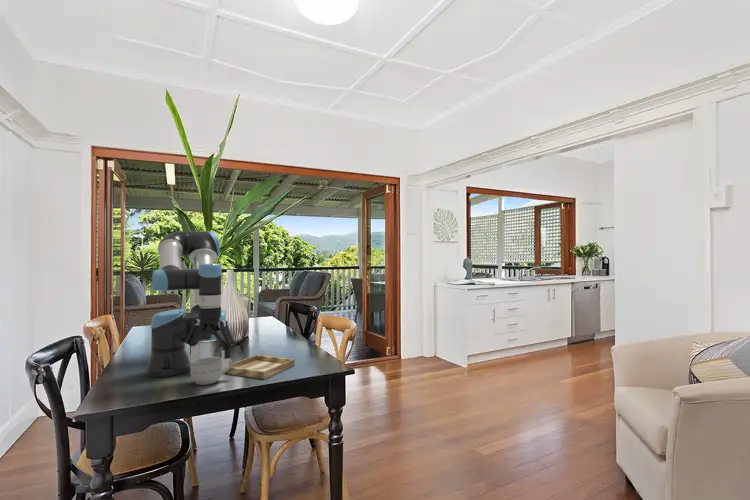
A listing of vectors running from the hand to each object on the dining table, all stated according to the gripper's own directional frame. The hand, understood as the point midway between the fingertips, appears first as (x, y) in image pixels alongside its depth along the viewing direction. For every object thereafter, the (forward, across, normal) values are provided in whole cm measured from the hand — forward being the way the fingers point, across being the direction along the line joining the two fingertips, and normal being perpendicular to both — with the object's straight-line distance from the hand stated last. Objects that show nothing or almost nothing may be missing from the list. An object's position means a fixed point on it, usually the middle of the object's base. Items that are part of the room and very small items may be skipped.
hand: (209, 367), depth 143 cm
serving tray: (+5, +6, +20) cm, 21 cm away
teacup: (+6, 0, +1) cm, 6 cm away
